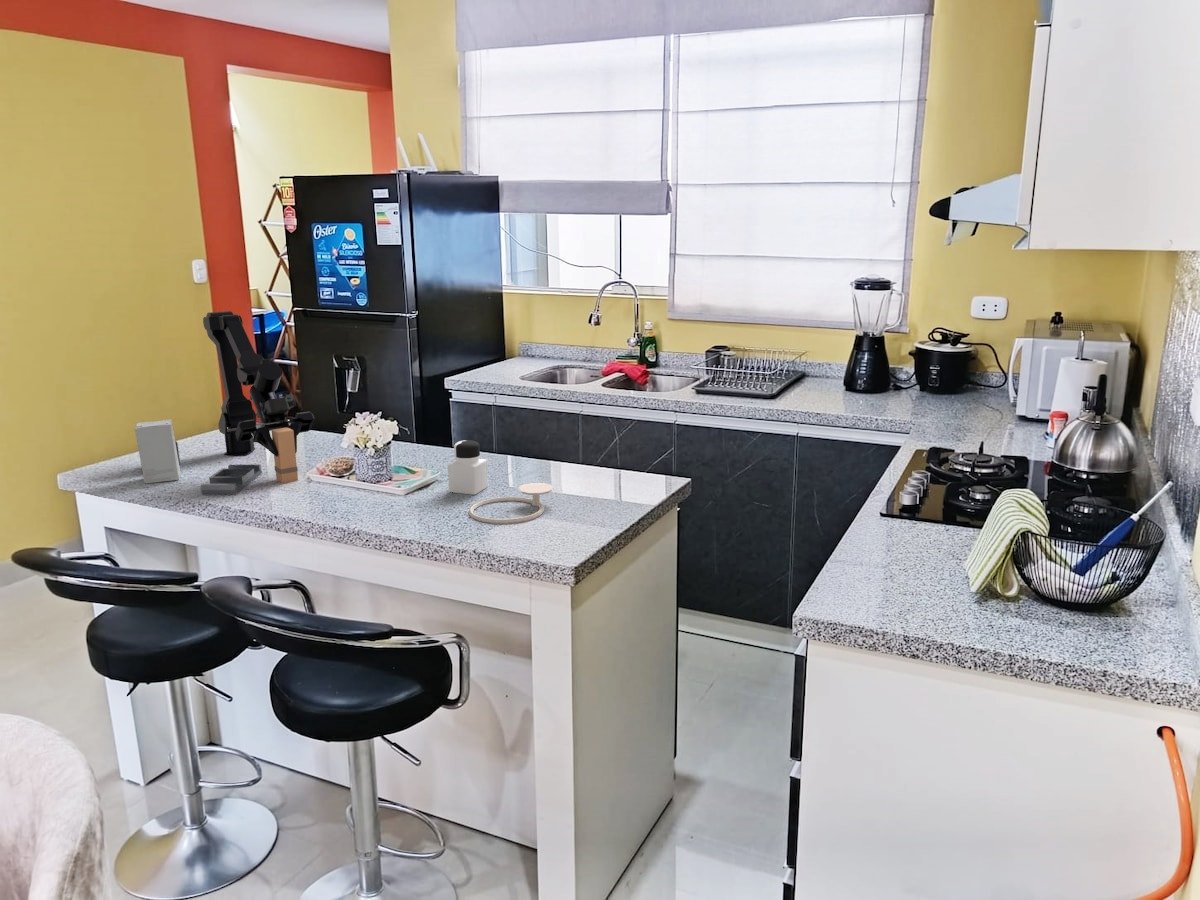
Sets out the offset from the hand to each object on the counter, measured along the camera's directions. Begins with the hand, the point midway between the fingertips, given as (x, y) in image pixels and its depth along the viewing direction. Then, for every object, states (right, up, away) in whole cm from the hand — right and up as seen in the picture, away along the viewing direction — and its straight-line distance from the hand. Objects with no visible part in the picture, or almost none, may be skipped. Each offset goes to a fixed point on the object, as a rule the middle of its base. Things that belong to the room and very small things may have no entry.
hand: (286, 454), depth 227 cm
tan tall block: (-1, -7, +3) cm, 7 cm away
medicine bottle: (+46, -9, -6) cm, 47 cm away
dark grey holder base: (-13, -7, 0) cm, 15 cm away
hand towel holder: (+58, -13, -21) cm, 63 cm away
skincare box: (-33, -7, +4) cm, 34 cm away
